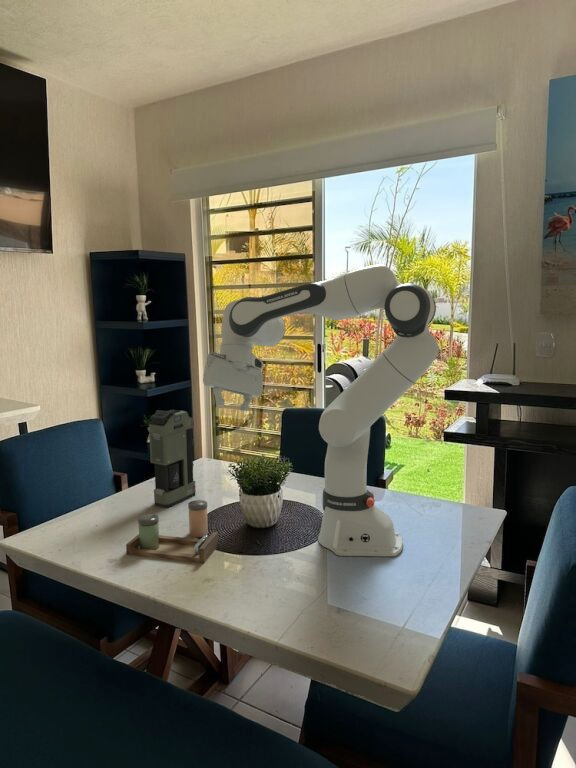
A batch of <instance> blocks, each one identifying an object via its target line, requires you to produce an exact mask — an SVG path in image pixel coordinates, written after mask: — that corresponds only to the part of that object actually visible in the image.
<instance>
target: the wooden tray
mask: <svg viewBox="0 0 576 768" xmlns="http://www.w3.org/2000/svg"><path fill="white" fill-rule="evenodd" d="M200 539H201V538H193V537H192V538H190V537H180V536H171V535H161V534H159V548H158V549H157V550H148V549H140V544H139V533H138V534H136V536H134V537H133V538H131V540H130V541H128V542H127V543H126V546H125V548H126V556H128V555H129V556H135V557H146V558H153V559H163V560H170V561H180V562H189V563H196V564H197V563H198V564H205V563H206V562H207V560H208V559H209V558H210V557H211V556H212V554H213V553H214V552H215V551H216V549H217V548H218V547H219V532H217V531H213V532H212V533H211V534H210V536H208V539H207V540H206V541H205V542H204V544H203V545H202V546H201V547H200V548H199V555H195V547H194V546H195V545H196V544H197V543H198V542H199V540H200Z"/></svg>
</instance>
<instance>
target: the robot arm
mask: <svg viewBox="0 0 576 768" xmlns="http://www.w3.org/2000/svg"><path fill="white" fill-rule="evenodd" d="M436 306H437V305H436V301H435V298H434V297H433V296H432V294H431V293H430V291H429V290H428V289H426V288H425V287H423V286H422V285H421V286H420V285H418V284H415V283H402V284H400V283H399V282H398V280H397V278H396V275H395V274H394V272H393V270H392V269H391V268H390V267H388V266H387V265H385V264H374V265H369V266H364V267H361V268H357V269H354V270H351V271H349V272H346V273H343V274H340V275H338V276H335V277H333V278H332V277H331V278H329V279H326V280H322V281H318V282H317V281H316V282H311V283H306V284H303V285H299V286H296V287H292V288H288V289H284V290H282V291H277V292H275V293H271V294H268V295H265V296H258V297H257V296H246V297H243V298H240V299H237V300H236V299H235V300H232V301H230V302H229V303H227V305H225V308H224V310H223V313H222V320H221V327H220V328H221V332H220V334H221V342H220V346H219V353H217V352H215V351H211V352H210V353H208V354H207V357H206V363H205V366H204V371H203V377H202V382H203V384H204V386H205V387H209V388H213V395H214V397H215V405H216V406H219V407H224V406H225V401H226V399H225V398H223V394H222V393H223V391H224V392H229V393H233V394H236V395H241V396H243V403H242V404H241V403H240V407H239V410H240V411H242V412H248V411H249V409H250V408H249V407H250V404H251V402H252V401H253V398H259V397H261V396H262V394H263V391H264V375H263V371H262V370H264V368H265V367H264V362H263V361H262V360H260V359H259V358H258V357H257V356H256V355H255V353H253V347H254V346H259V347H268V348H270V347H274V346H276V345H278V344H279V343H280V342H281V341H282V340H283V338H284V336H285V333H286V323H285V320H284V319H283V318H285V317H288V316H292V315H295V314H300V313H301V314H302V313H303V314H305V313H307V314H314V315H317V316H321V317H323V318H326V319H329V320H332V321H341V320H348V319H351V318H355V317H358V316H360V315H362V314H366V313H369V312H372V311H374V310H384V313H385V317H386V320H387V321H388V323H389V324H390V326H391V327H392V330H393V332H394V333H395V335H396V337H395V338H394V340H392V342H391V343H390V344H389V345H388V346H387V347H386V349H384V350H383V351H382V352H381V353H380V355H379V356H377V357H376V358H375V360H373V362H371V364H370V365H368V367H366V369H365V370H363V372H362V373H360V374H359V376H357V378H356V379H354V380H353V381H352V382H351V383H350V384H349V385H348V386H347V387H346V388H345V389H344V390H343V391H342V392H341V393H340V394H339V395H338V396H337V397H336V398H335V399H334V400H333V401H332V402H330V404H329V405H328V406H327V407H326V408H325V409H324V410H323V412H322V413H321V415H320V418H319V423H318V431H319V434H320V436H321V438H322V439H323V441H324V442H326V443H327V449H326V454H325V460H324V487H323V490H322V497H321V499H322V500H321V501H322V503H321V504H322V505H321V506H322V511H323V512H322V513H323V514H322V522H321V526H320V530H319V534H318V537H317V541H318V542H319V544H320V545H321V546H323V547H324V548H326V549H328V550H331V552H332V553H334V554H335V555H337V556H339V557H396V556H398V555H399V554H401V552H402V550H403V548H404V543H403V537H402V535H401V534H400V533H399V532H398V531H395V527H394V523H393V520H392V517H390V515H389V514H387V513H385V511H383V510H382V509H380V507H378V506H377V505H375V502H376V501H375V495H374V491H373V490H371V492H370V490H369V489H367V466H368V465H367V464H368V455H369V447H370V437H371V427H372V425H374V423H376V422H377V421H378V420H379V419H380V418H381V417H382V416H383V415H384V413H386V411H388V410H389V409H390V408H391V407H392V406H393V405H394V404H395V403H396V402H397V401H398V400H399V399H400V398H401V397H402V396H403V395H404V394H406V392H407V391H408V390H409V389H410V388H411V387H412V386H413V385H414V384H415V383H416V382H417V381H418V380H419V379H421V377H422V376H423V375H424V374H425V373H426V372H427V370H428V369H429V368H430V367H431V366H432V364H433V363H434V361H435V360H436V359H437V357H438V355H439V352H440V346H439V344H438V341H437V339H436V338H435V336H434V335H433V334H432V333H431V332H430V330H429V324H431V322H432V321H433V320H434V319H435V315H436V311H437V307H436Z"/></svg>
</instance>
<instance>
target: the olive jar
mask: <svg viewBox="0 0 576 768" xmlns="http://www.w3.org/2000/svg"><path fill="white" fill-rule="evenodd" d="M159 521H160V517H159V515H157V514H144V515H141V516H139V517H138V519H137V523H138V534H139V544H140V549H148V550H157V549H158V548H159V535H160V529H159V528H160V527H159Z"/></svg>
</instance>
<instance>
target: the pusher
mask: <svg viewBox="0 0 576 768" xmlns="http://www.w3.org/2000/svg"><path fill="white" fill-rule="evenodd" d="M208 538H209V536H208V535H206V536H205V535H204V536H203V537H200V538H199V539H200V540H199V542H198V543H197V544H196V545H195V546H194V547H195V555H199V548H200V547H201V546H202V545H203V544H204V542H205V541H206V540H207V539H208Z"/></svg>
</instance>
